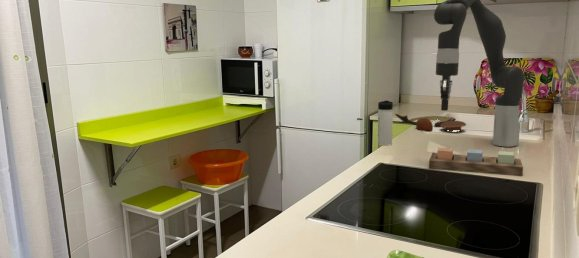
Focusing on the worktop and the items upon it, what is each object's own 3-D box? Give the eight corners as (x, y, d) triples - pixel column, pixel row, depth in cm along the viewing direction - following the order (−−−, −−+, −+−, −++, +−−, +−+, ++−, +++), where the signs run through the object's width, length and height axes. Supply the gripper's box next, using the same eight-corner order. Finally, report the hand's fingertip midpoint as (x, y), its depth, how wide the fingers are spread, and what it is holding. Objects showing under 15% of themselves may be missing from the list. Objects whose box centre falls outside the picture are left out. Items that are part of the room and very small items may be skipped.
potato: (429, 137, 221) (414, 129, 222) (425, 134, 233) (411, 127, 233) (437, 123, 220) (422, 116, 221) (432, 121, 232) (418, 114, 232)
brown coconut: (457, 118, 228) (457, 130, 229) (435, 121, 226) (436, 133, 227) (471, 121, 217) (471, 134, 218) (448, 124, 215) (448, 137, 216)
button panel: (519, 167, 161) (520, 158, 161) (522, 175, 151) (523, 167, 150) (432, 160, 173) (432, 153, 172) (428, 168, 162) (429, 160, 162)
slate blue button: (482, 159, 163) (482, 150, 162) (482, 162, 158) (482, 153, 157) (467, 158, 164) (467, 149, 164) (466, 161, 160) (467, 152, 159)
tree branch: (451, 132, 228) (452, 117, 226) (392, 128, 242) (392, 114, 240) (458, 125, 247) (458, 111, 246) (403, 122, 261) (403, 109, 260)
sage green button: (513, 161, 159) (513, 152, 158) (514, 164, 154) (514, 155, 154) (497, 160, 161) (498, 151, 160) (497, 163, 156) (498, 154, 156)
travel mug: (392, 145, 201) (393, 100, 197) (391, 148, 195) (392, 102, 191) (378, 144, 203) (379, 100, 199) (376, 147, 197) (377, 102, 193)
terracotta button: (452, 157, 166) (453, 148, 166) (451, 160, 162) (452, 151, 161) (438, 156, 168) (438, 147, 168) (437, 159, 164) (437, 150, 163)
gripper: (438, 61, 168) (435, 107, 170) (434, 62, 156) (431, 112, 158) (459, 61, 165) (456, 108, 167) (457, 62, 153) (454, 113, 155)
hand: (444, 110), depth 163 cm, fingers closed
